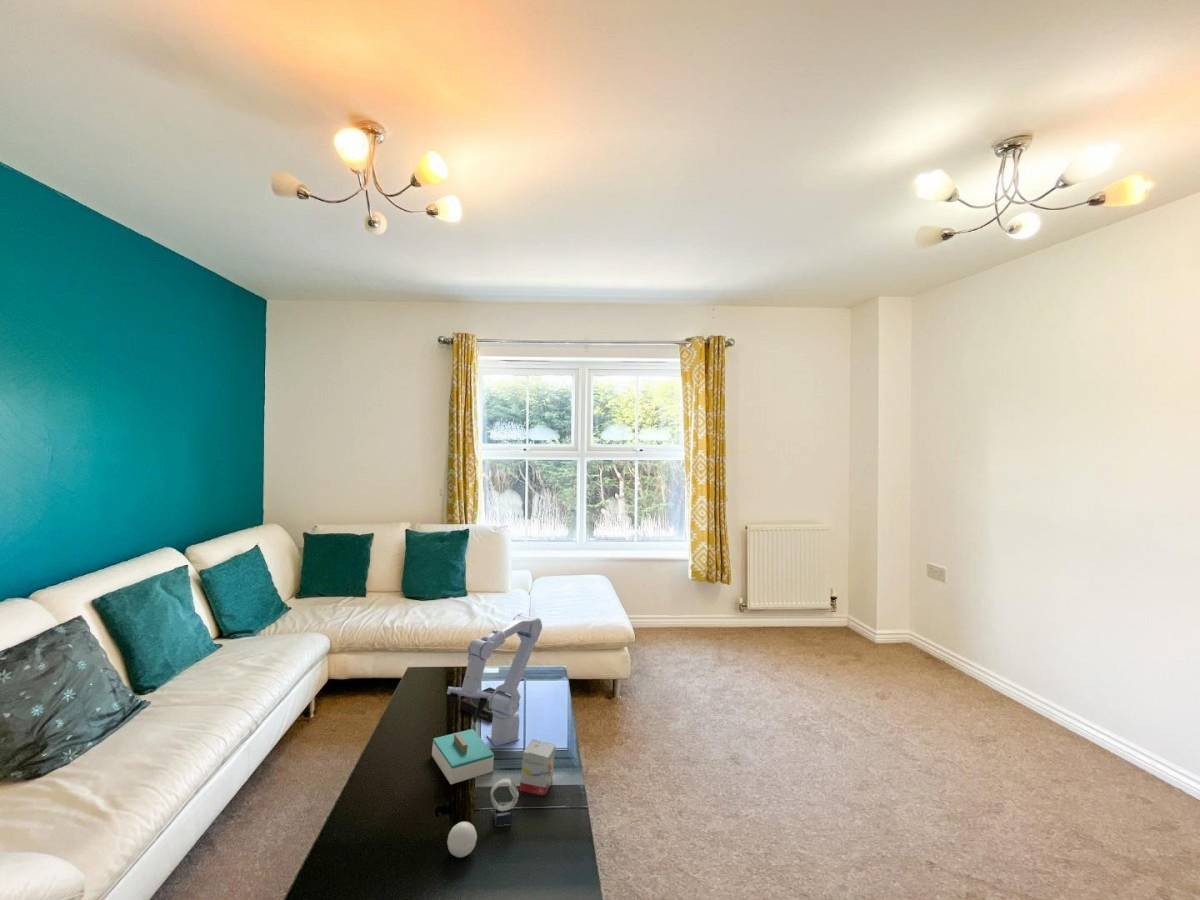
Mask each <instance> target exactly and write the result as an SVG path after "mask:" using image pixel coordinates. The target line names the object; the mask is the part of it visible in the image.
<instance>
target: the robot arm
mask: <svg viewBox="0 0 1200 900" xmlns="http://www.w3.org/2000/svg"><path fill="white" fill-rule="evenodd" d="M542 630H543V624H542V620H541V619H540V618H539V617H534V616H530V615H527V614H523V613H518V614H517V615H515V616H514V617H513V619H512V621H511V622H509V623H507V625H505V626H504V627H502V628H501V629H499V628H497V629H496V628H494V629H492V631H490V632H489V633H487V634H486V635H484V636H482V637H481V638H475V639H473V640H471V642H469V646H467V653H468V655H467V661H468V662H467V666H466V670H465V675H464V678H463V681H462V687H459V686H457V687H456V686H448V687H447V691H446V694H447V695H449V697H448V698H449V703H450V718H449V720H453V717H454V712H455V711H454V710H455V707H456V703H457V699H458V696H461V697H465V698H467V697H473V698H479V701H478V706H477V710H476V713H475V716H474V715H473V723H476V722H477V720H478V715H479V714H480V712H481V710H482V709H483V707H484V706H485V705H486V703H487V700H488V701H489V707H490V708H491V709H492V713H493V720H492V722H491V731H490V732H489V733H487V734H486V736H487V738H488V739H489V740H490V741H491V743H492V744H493V745H494V746H501V745H504V744H507V743H512V742H515V741H519V740H520V737H519V734H520V733H519V729H520V715H519V713H518V709H519V707H520V700H521V694H520V692H519V690H518V687H519V685H520V682H521V680H522V677H523V675H524V672H525V670H526V667H527V665H528V662H529V660H530V657H531V654H532V652H533V650H534V647H535V644H536V642H538V639H539V637H540V635H541V632H542ZM515 634H516V635H517V636H518V637H519V639H520V644H519V646H518V648H517V650H516V652H515V653H516V654H515V655H514V658H513V660H512V662H511V666H510V668H509V670H508V672H507V675H506V677H505V680H504V682H503V683H502V684H500V685H498V686H497V687H496V688H495V692H494V693H493V694H492V696H491V693H487V692H483V691H482V690H480V687H481V684H482V679H483V676H484V670H485V666H486V663H487V660H488V659H489V658H490V657H491V656H492V654H493V653H494V651H495V650H496V649H498V648H499V647H501V646H502V645H504V644H505V642H506V639H508V638H510V637H512V636H513V635H515ZM504 693H505V694H508V695H510V696H511V697H510V696H508V695H505V694H504ZM518 706H519V707H518Z"/></svg>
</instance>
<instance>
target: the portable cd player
mask: <svg viewBox="0 0 1200 900" xmlns="http://www.w3.org/2000/svg"><path fill="white" fill-rule="evenodd" d="M495 690H496V688H492V687H490V686H489V687H487V688H485V689H483V690H481V691H483V692H487V693H491V696H492V694H493V693H494V692H495ZM504 694H505V695H508V696H510V697H511V695H509V694H507V693H504ZM478 701H479V698H473V697H465V698H463V699H460V705H459V710H461V709H463V710H465V711H467V712H469V713H470V714H469V713H468V714H469V715H472V716H473V717H474V716H475V713H476V710H477V706H478ZM519 707H520V705H519V706H518V708H519ZM463 710H462V711H463ZM465 711H464V712H465ZM467 712H466V713H467ZM477 719H481V720H483V721H484V722H487V723H492V720H493V713H492V709H491V708H490V707H489V701H488V700H487V703H486V705H485V706H484V707H483V709H482V710H481V712H480V714H479V715H478V717H477Z"/></svg>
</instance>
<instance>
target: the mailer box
mask: <svg viewBox="0 0 1200 900" xmlns="http://www.w3.org/2000/svg"><path fill="white" fill-rule="evenodd" d="M431 757H432V758H433V759H434V761H435V763H436V764H437V765H438V767H439V769H440V770H441V772H442V773H443V775H444V777H445V778H446V780H447V781H448V782H449V784H450V785H453V784H456V783H460V782H464V781H466V780H469V779H473V778H476V777H481V776H482V775H487V774H489V773H492V772H494V759H495V758H494V756H492V757H489V758H486V759H482V760H479V761H475V762H472V763H468V764H465V765H461V766H458V767H454V768H452V767H451V766H450V764H449V763H448V761H447V760H446V758H445V757H444V755H443V754H442V753H441V751H440V750H439V748H438V747H437V745H436V744H435V742H434V741H432V749H431Z"/></svg>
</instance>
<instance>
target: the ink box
mask: <svg viewBox="0 0 1200 900" xmlns="http://www.w3.org/2000/svg"><path fill="white" fill-rule="evenodd" d="M556 747H557V746H556V744H554V743H551V742H545V741H542V740H536V739H531V740H530V742H529V743H528V745H526V747H525V749H524V750H523V753H522V762H521V763H522V764H521V771H520V773H521V774H520V780H519V781H520V782H519V791H520V792H525V793H529V794H534V795H539V796H543V795H545V794H546V795H547V792H548V791H549V789H550V786H551V784H552V781H553V775H554V768H555V767H554V765H555V755H556ZM546 795H545V796H546Z"/></svg>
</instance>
